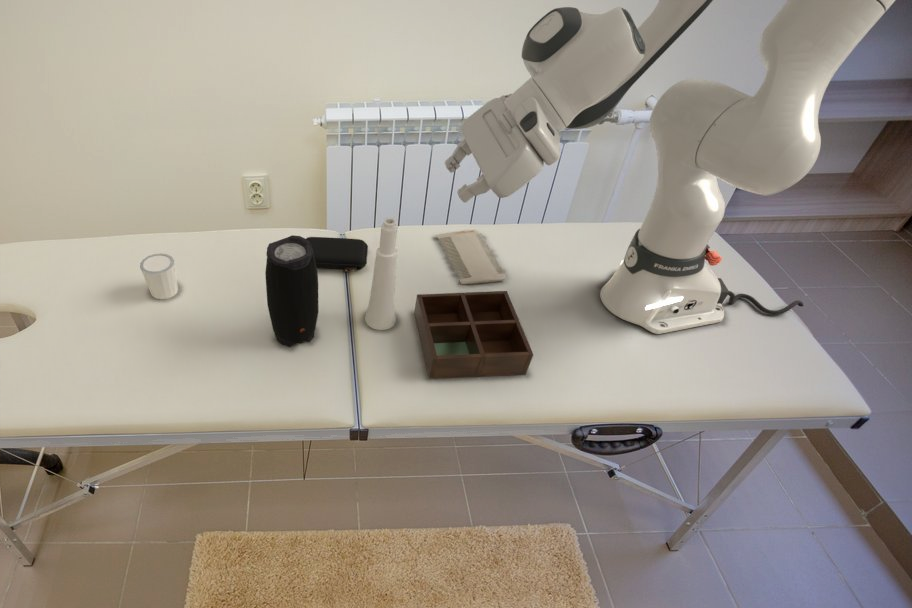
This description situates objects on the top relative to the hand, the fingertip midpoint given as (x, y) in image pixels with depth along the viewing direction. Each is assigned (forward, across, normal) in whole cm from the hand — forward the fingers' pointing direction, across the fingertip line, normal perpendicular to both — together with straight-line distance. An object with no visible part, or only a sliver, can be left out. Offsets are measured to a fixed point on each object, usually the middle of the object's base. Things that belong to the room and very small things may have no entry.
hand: (453, 182), depth 91 cm
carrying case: (+32, -20, +8) cm, 38 cm away
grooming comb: (+11, -18, +28) cm, 35 cm away
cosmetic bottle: (+27, +1, +13) cm, 30 cm away
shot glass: (+58, -12, -18) cm, 62 cm away
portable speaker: (+39, +3, +1) cm, 39 cm away
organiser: (+16, +8, +24) cm, 30 cm away
